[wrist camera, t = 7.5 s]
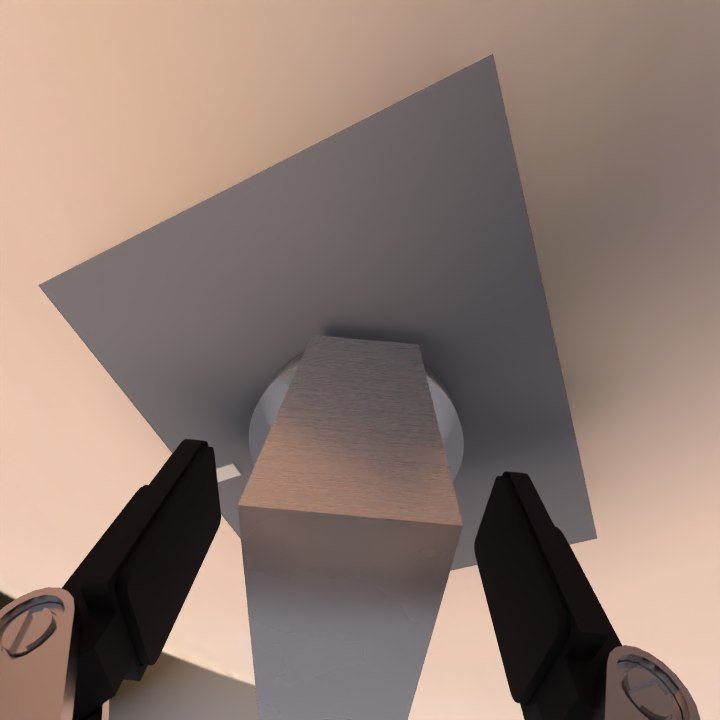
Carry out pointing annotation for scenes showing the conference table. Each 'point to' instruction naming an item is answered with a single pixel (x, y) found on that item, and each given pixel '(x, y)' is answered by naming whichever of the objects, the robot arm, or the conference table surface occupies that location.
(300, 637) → the knob
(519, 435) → the dial board
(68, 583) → the robot arm
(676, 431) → the conference table surface
